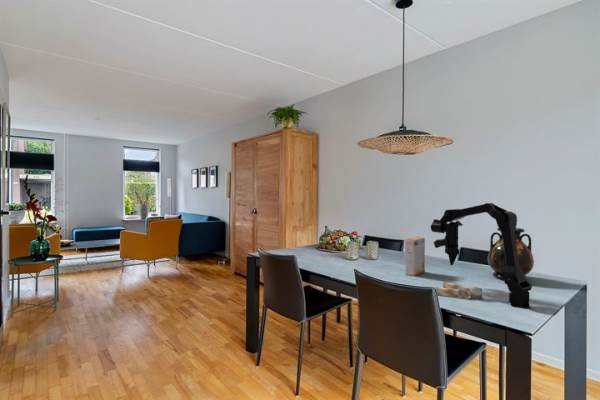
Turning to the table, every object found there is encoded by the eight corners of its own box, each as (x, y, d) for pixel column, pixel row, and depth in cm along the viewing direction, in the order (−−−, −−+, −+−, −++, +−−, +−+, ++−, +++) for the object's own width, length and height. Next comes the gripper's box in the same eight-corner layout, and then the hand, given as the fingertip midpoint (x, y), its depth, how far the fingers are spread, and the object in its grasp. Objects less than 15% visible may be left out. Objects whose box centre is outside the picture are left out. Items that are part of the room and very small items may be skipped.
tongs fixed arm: (468, 297, 146) (468, 289, 146) (468, 299, 143) (469, 291, 143) (435, 293, 152) (435, 285, 152) (435, 294, 149) (435, 287, 149)
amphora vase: (488, 280, 174) (489, 229, 173) (486, 272, 193) (487, 225, 192) (537, 286, 164) (538, 231, 163) (529, 276, 183) (530, 227, 182)
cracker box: (415, 270, 196) (415, 236, 195) (425, 272, 191) (425, 237, 191) (404, 274, 186) (404, 238, 185) (414, 276, 182) (414, 239, 181)
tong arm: (484, 297, 144) (484, 288, 144) (478, 299, 141) (479, 290, 141) (445, 287, 159) (445, 279, 159) (439, 289, 156) (439, 281, 156)
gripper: (435, 231, 173) (434, 260, 173) (433, 235, 156) (433, 267, 156) (458, 232, 168) (457, 262, 169) (459, 236, 151) (459, 269, 152)
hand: (451, 265), depth 161 cm, fingers closed
